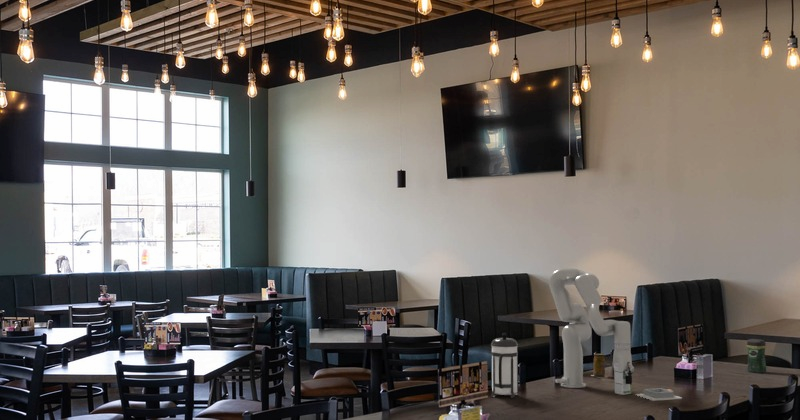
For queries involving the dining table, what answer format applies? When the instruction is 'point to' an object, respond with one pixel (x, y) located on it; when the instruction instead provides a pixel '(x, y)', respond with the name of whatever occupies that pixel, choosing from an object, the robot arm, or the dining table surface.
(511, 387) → the coffee press
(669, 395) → the chassis plate
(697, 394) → the dining table surface
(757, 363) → the coffee jar
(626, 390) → the syrup box
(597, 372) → the condiment
